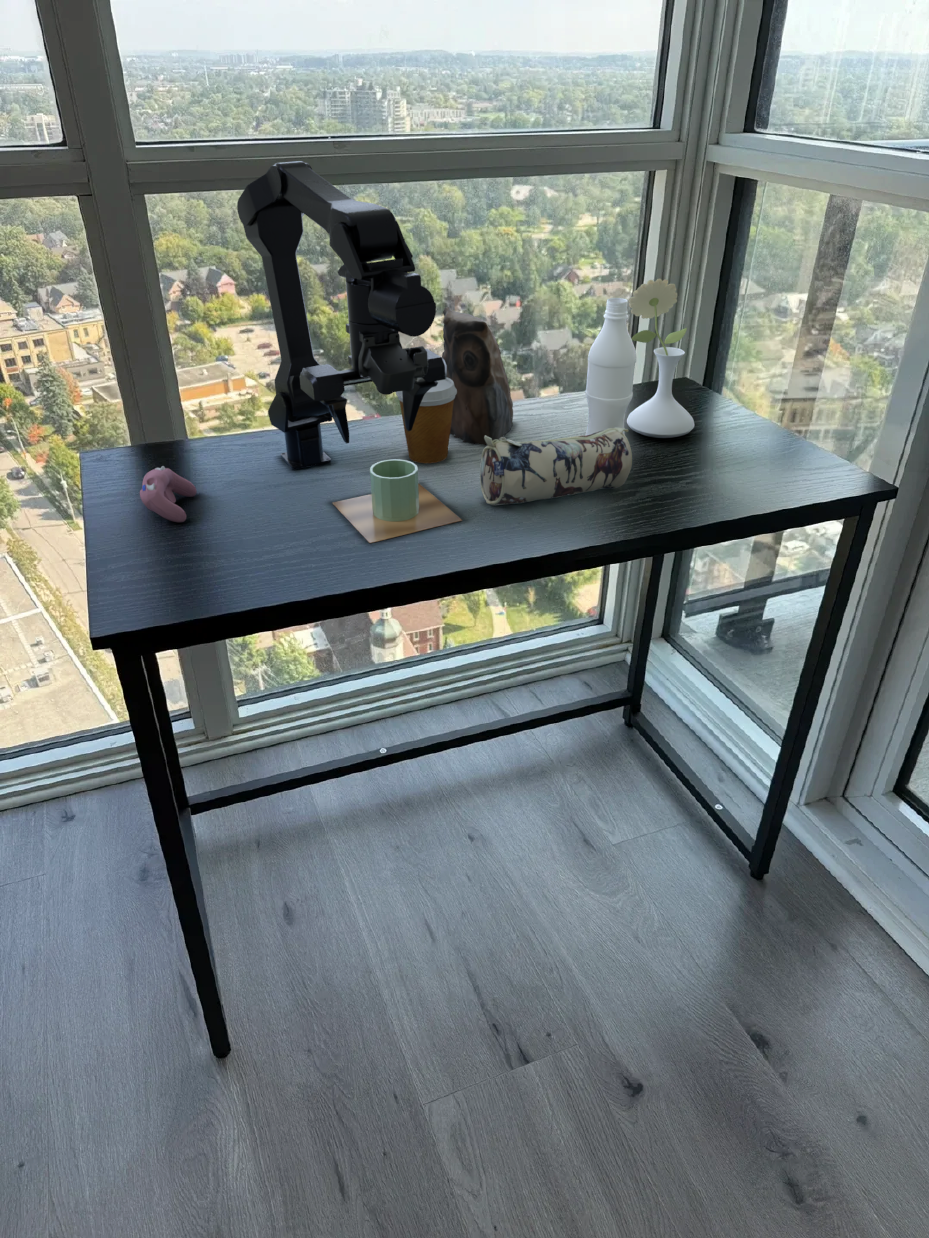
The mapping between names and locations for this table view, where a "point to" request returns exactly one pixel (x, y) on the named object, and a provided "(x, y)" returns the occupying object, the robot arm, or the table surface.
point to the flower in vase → (662, 409)
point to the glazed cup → (394, 490)
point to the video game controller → (165, 493)
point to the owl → (476, 379)
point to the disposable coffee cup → (431, 424)
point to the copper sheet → (378, 530)
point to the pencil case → (553, 466)
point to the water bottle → (610, 370)
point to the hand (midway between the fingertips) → (378, 436)
